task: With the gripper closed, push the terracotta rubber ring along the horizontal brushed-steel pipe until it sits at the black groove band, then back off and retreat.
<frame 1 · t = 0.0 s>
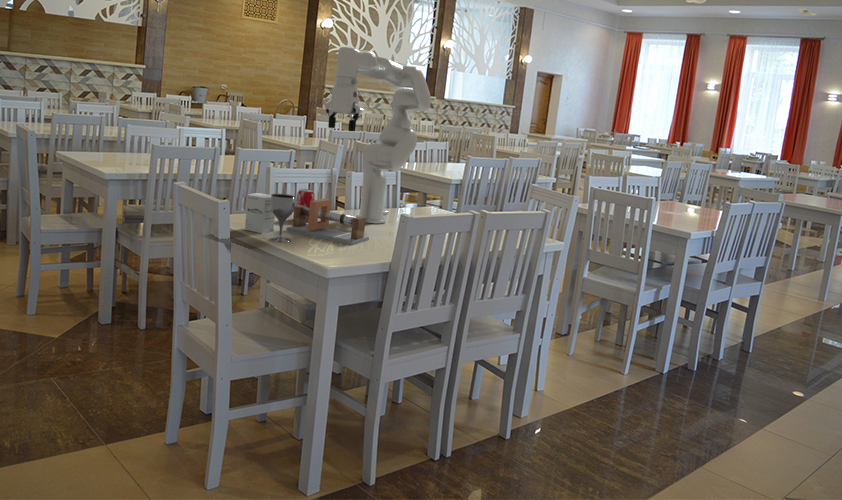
hand: (341, 129, 250), 37 cm above the table, tool pointing down, fingers open, 9 cm apart
supplement box: (259, 231, 234), on the table
posts: (327, 235, 240), resting on board
board: (327, 235, 240), on the table
soda can: (303, 221, 261), on the table
wine glass: (280, 240, 223), on the table
ring: (319, 214, 240), point 7 cm above the table, slide at 0.0 cm
pipe: (329, 216, 238), point 7 cm above the table
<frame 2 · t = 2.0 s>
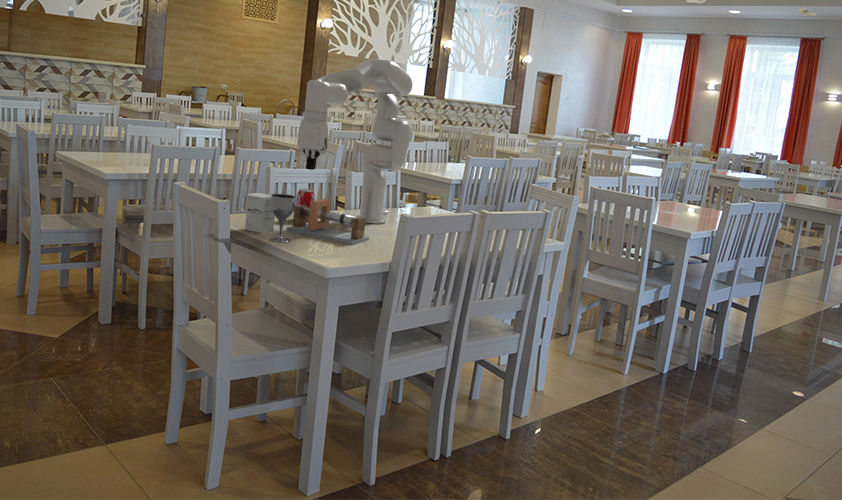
hand: (310, 169, 238), 22 cm above the table, tool pointing down, fingers closed
nothing on the table moved.
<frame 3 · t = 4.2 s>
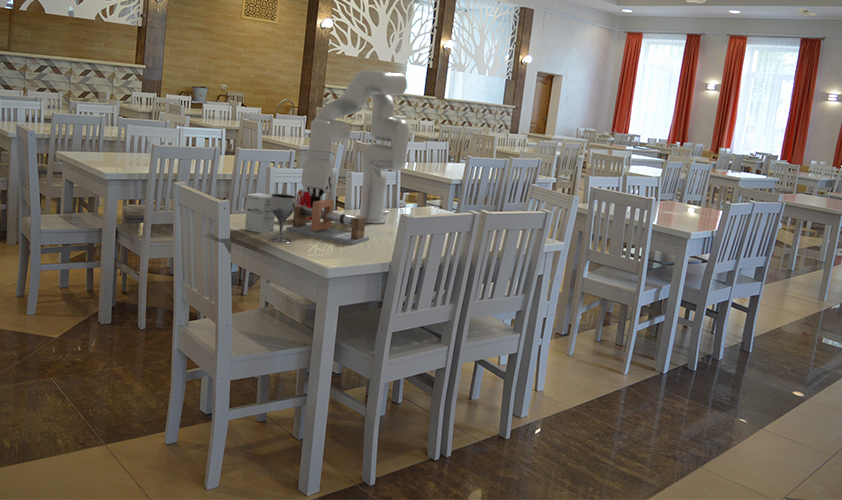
hand: (314, 206, 240), 9 cm above the table, tool pointing down, fingers closed
ring: (322, 214, 239), point 7 cm above the table, slide at 1.2 cm, touching gripper
everything else where it was.
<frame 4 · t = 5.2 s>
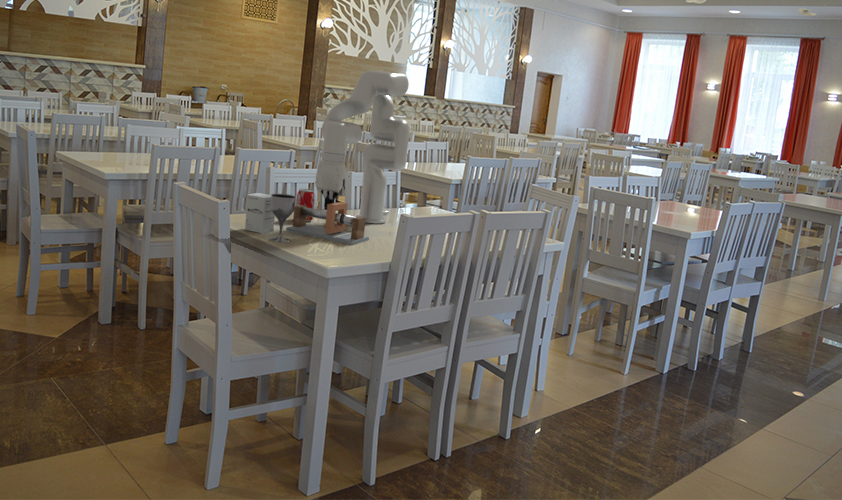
hand: (328, 209, 238), 9 cm above the table, tool pointing down, fingers closed
ring: (336, 217, 237), point 7 cm above the table, slide at 6.9 cm, touching gripper
everything else where it was.
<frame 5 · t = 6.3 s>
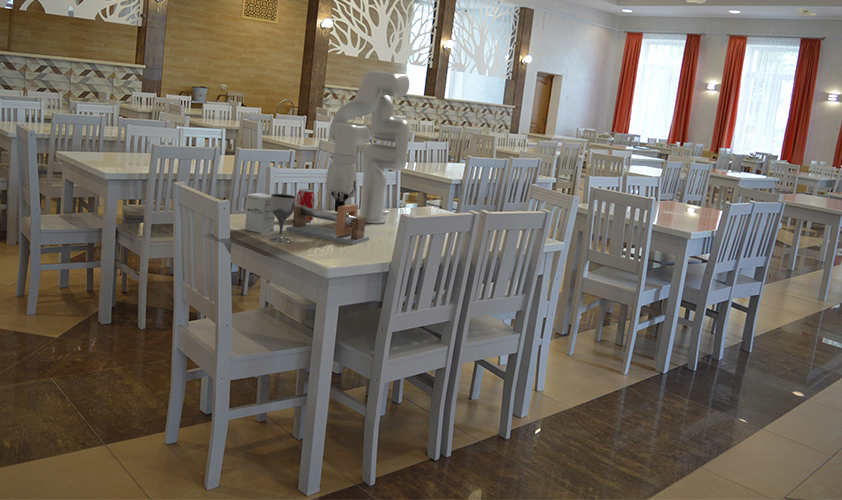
hand: (339, 211, 236), 9 cm above the table, tool pointing down, fingers closed
ring: (346, 219, 235), point 7 cm above the table, slide at 11.2 cm, touching gripper
everything else where it was.
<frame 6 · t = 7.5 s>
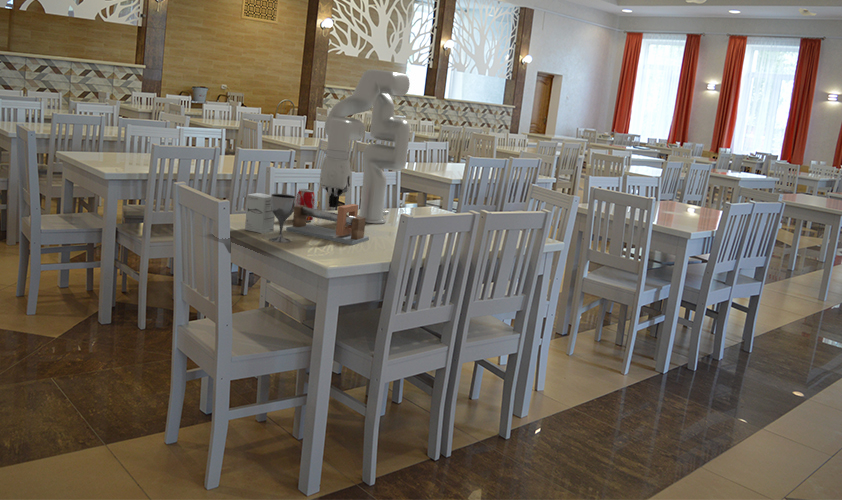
hand: (333, 206, 238), 11 cm above the table, tool pointing down, fingers closed
ring: (347, 219, 235), point 7 cm above the table, slide at 11.3 cm
everything else where it was.
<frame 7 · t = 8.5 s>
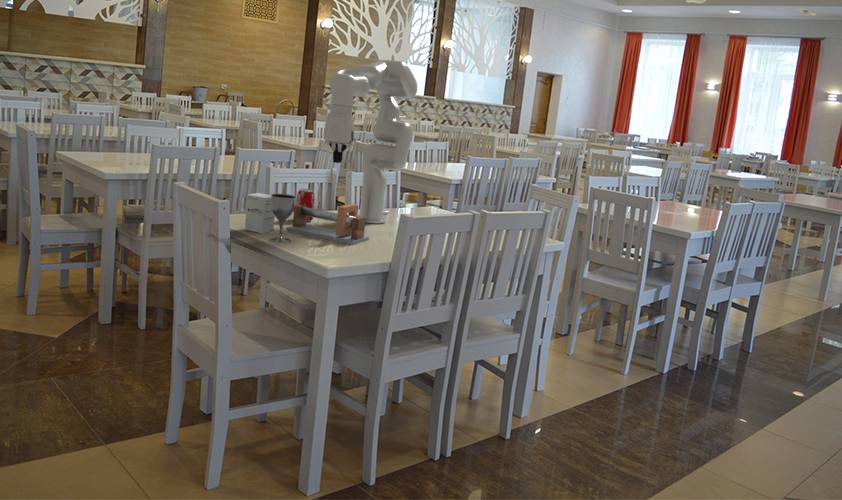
hand: (337, 162, 240), 26 cm above the table, tool pointing down, fingers closed
nothing on the table moved.
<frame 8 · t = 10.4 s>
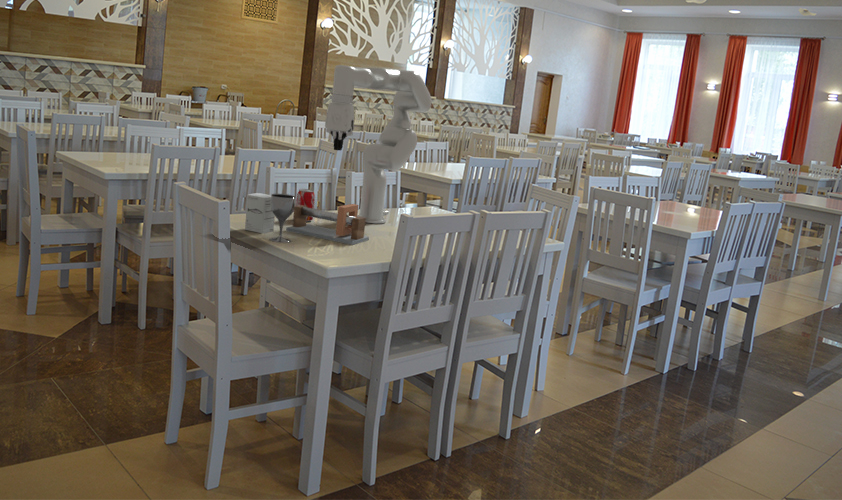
hand: (337, 150, 250), 29 cm above the table, tool pointing down, fingers closed
nothing on the table moved.
at the end: ring slide at 11.3 cm; the gripper is holding nothing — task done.
